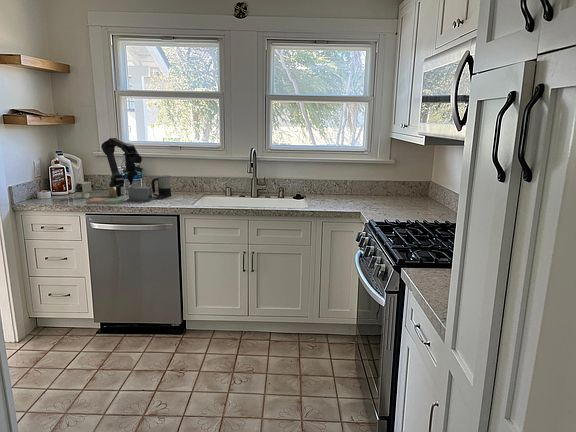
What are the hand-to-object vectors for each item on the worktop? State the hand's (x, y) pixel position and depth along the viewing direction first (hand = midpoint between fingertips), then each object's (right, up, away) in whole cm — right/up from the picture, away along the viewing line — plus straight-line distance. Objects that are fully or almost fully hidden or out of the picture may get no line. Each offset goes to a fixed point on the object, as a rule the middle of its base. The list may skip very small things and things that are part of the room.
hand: (131, 184), depth 302 cm
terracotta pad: (-19, -13, -11) cm, 25 cm away
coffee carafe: (+20, -9, +7) cm, 23 cm away
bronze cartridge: (-13, -10, 0) cm, 16 cm away
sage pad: (-7, -13, -12) cm, 19 cm away
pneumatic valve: (-34, -10, +3) cm, 35 cm away
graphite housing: (+9, -11, -5) cm, 15 cm away
